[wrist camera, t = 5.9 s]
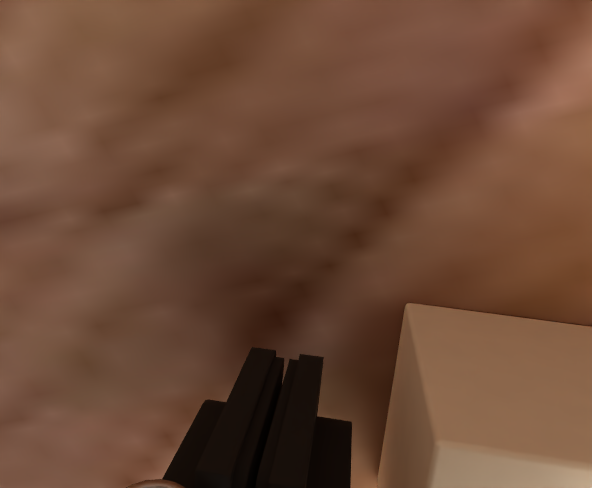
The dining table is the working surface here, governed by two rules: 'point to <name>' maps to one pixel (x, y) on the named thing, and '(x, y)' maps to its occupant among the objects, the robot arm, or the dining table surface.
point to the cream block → (488, 403)
